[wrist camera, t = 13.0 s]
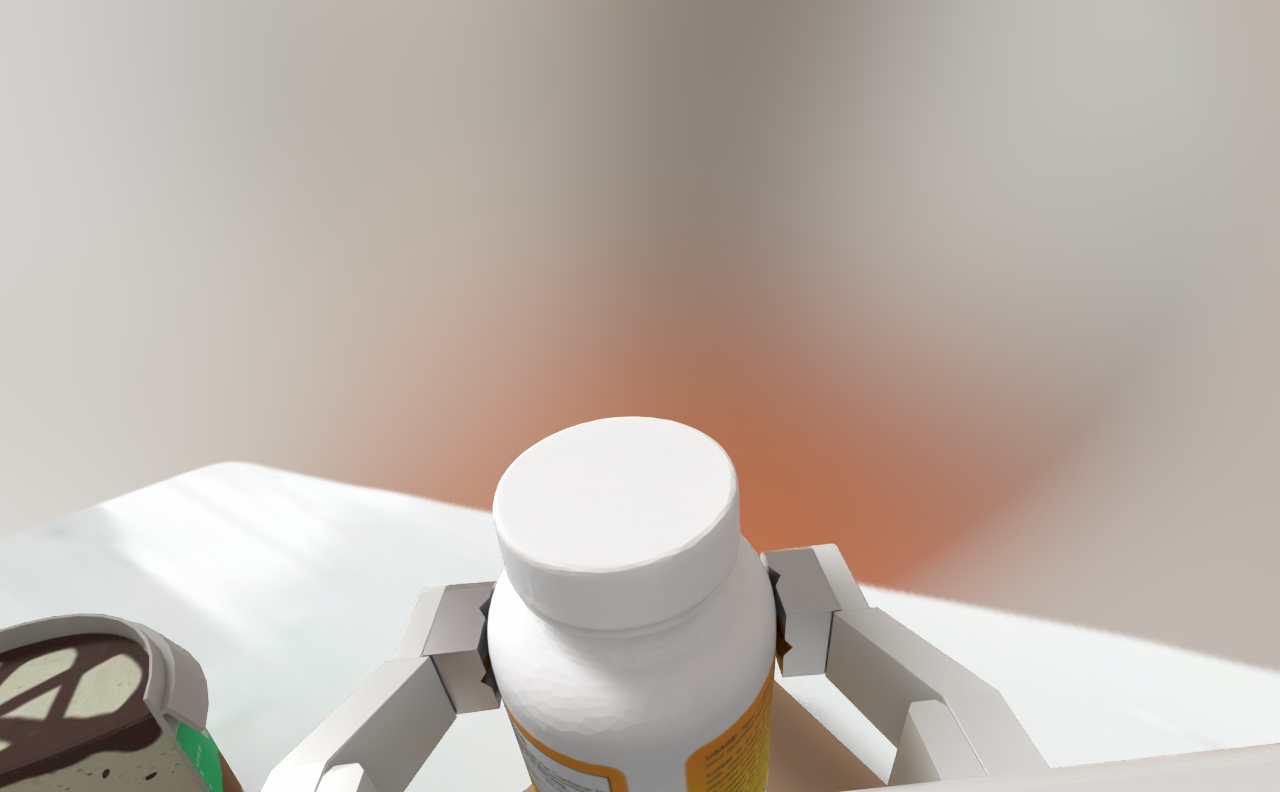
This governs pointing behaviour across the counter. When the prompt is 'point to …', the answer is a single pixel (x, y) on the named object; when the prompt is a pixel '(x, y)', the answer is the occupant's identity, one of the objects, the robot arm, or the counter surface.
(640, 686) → the supplement bottle
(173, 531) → the counter surface
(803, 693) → the counter surface
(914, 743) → the robot arm
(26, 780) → the food container
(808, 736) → the socket rail
